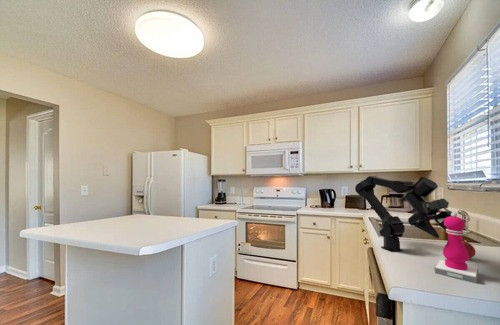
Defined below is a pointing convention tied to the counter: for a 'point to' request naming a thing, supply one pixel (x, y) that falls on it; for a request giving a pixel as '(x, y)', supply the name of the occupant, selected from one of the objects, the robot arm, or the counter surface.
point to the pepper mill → (455, 243)
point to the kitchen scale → (457, 272)
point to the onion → (469, 249)
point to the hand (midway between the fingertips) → (447, 236)
